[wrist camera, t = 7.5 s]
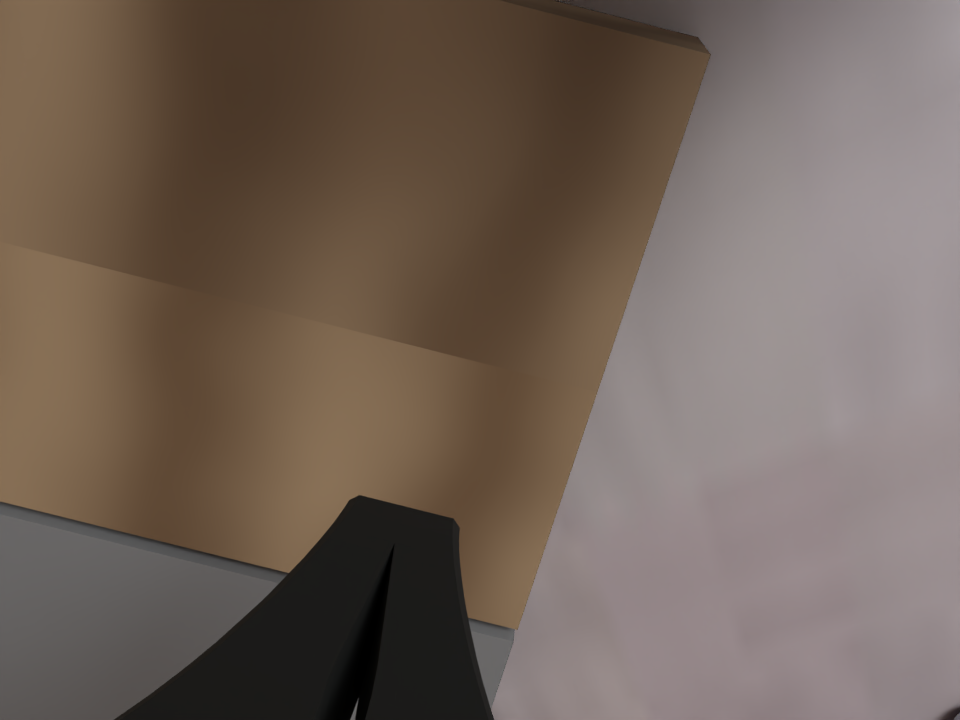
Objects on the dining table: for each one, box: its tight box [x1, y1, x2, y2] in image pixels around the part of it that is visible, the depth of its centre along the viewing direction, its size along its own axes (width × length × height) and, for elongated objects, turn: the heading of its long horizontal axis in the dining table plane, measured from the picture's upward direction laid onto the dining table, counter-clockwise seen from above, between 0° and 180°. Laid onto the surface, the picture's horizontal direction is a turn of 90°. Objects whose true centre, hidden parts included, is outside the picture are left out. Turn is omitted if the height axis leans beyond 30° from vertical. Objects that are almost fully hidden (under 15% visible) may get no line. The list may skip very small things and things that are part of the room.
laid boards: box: [0, 0, 711, 630], centre depth 19 cm, size 16×14×2 cm
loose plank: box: [0, 501, 515, 720], centre depth 25 cm, size 16×12×2 cm
